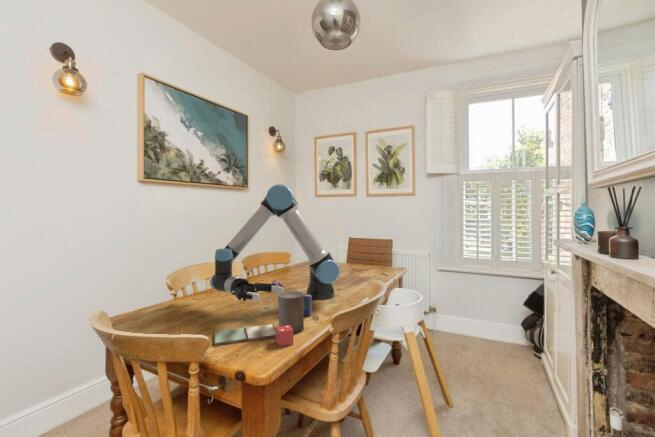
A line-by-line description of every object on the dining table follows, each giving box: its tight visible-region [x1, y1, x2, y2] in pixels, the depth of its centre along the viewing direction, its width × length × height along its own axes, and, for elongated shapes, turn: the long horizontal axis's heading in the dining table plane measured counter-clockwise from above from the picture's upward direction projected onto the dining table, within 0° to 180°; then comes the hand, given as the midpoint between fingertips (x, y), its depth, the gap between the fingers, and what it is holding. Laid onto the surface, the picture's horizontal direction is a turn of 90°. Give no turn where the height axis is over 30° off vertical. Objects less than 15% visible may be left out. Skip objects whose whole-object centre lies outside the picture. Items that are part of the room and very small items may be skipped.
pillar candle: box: [278, 290, 305, 335], centre depth 117 cm, size 10×10×15 cm
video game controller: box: [271, 279, 284, 288], centre depth 176 cm, size 10×5×7 cm, turn 5°
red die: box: [275, 325, 294, 348], centre depth 106 cm, size 5×5×5 cm
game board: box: [213, 323, 276, 347], centre depth 112 cm, size 22×11×1 cm, turn 111°
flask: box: [299, 290, 313, 317], centre depth 133 cm, size 9×3×11 cm, turn 74°
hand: (271, 294), depth 123 cm, fingers open, 13 cm apart
